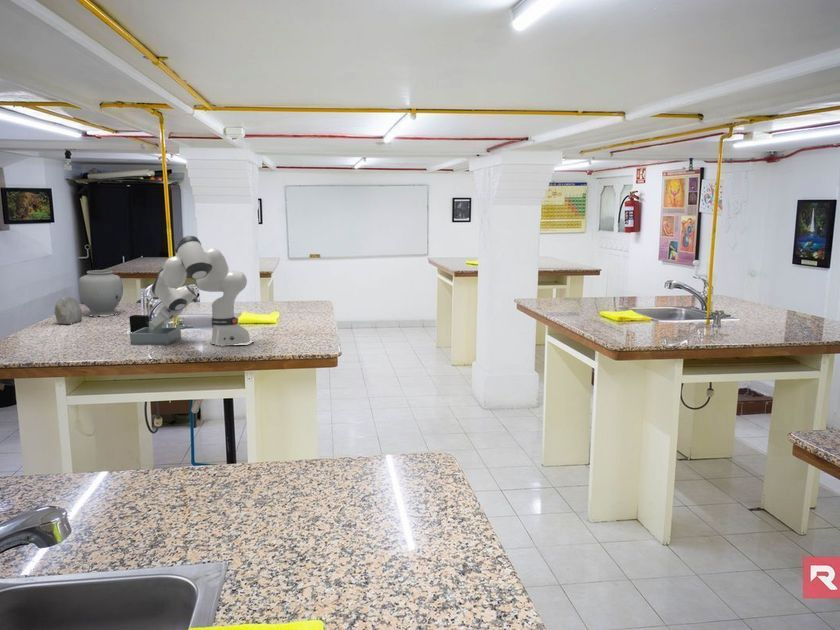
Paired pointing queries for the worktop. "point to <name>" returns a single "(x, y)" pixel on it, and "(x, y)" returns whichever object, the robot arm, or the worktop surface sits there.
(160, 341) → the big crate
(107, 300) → the grey ceramic vase
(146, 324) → the electronic device
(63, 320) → the decorative stone
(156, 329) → the pale green block
